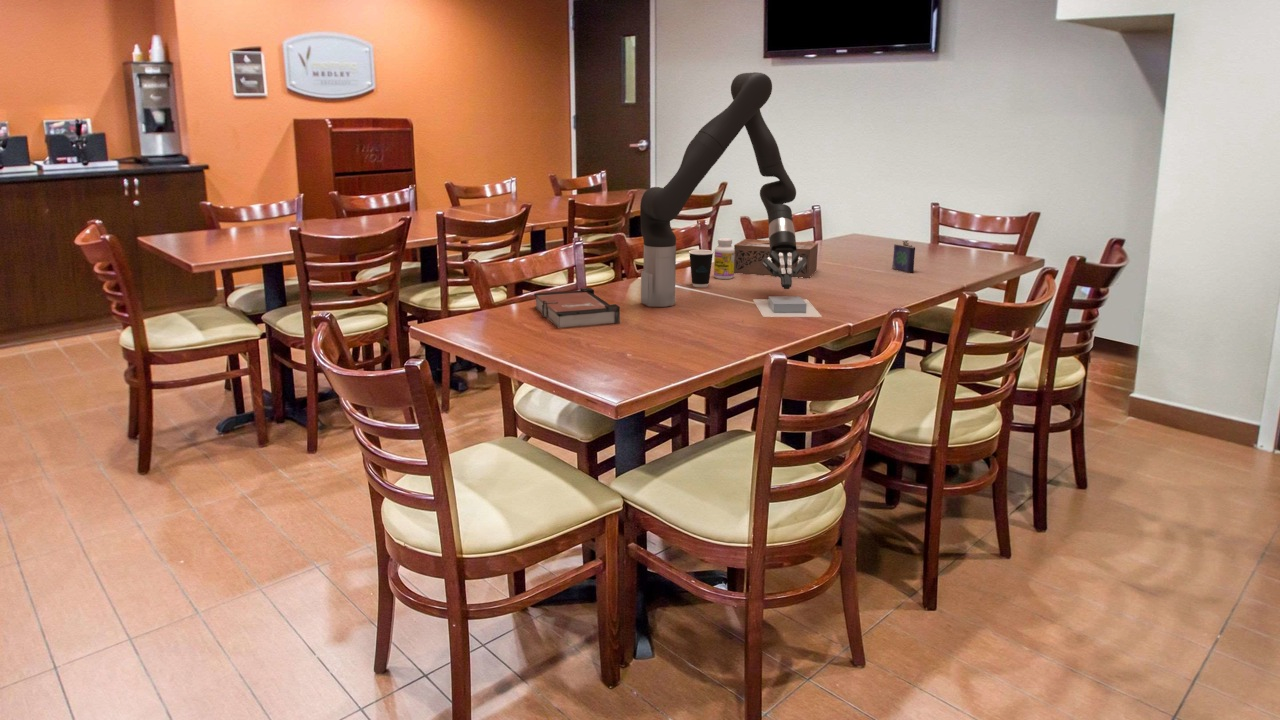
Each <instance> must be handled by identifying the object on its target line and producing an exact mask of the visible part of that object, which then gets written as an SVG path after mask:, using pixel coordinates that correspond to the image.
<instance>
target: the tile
mask: <svg viewBox="0 0 1280 720" xmlns="http://www.w3.org/2000/svg"><path fill="white" fill-rule="evenodd" d="M768 299H769V300H768V305H769V307H770V308H771V310H772V311H773V313H806V307H807V304H806V303H805V301H804V300H803V298H802V296H800V295H799V296H798V295H797V296H795V295H791V296H789V295H783V296H782V295H781V296H780V295H778V296H777V295H775V296H774V295H773V296H770V295H768Z"/></svg>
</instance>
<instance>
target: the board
mask: <svg viewBox="0 0 1280 720" xmlns="http://www.w3.org/2000/svg"><path fill="white" fill-rule="evenodd" d="M802 299H803V298H802ZM752 300H753V302H754V304H755V305H756V307H757V309H758V310H759V312H760V314H761V316H762V317H763V318H823V316H822V314H821V313H820V312H819V311H818V310H817V309H816V308H815V306H814V305H813V304H812V303H811V302H810V301H809V299H806V298H805V299H803V300H804V301H805V303H806V304H807V307H806V313H773V311H772V310H771V308H770V307H769V305H768V300H769V298H768V299H767V298H765V299H764V298H761V299H759V298H758V299H757V298H756V299H755V298H754V299H752Z"/></svg>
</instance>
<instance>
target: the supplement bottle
mask: <svg viewBox="0 0 1280 720" xmlns="http://www.w3.org/2000/svg"><path fill="white" fill-rule="evenodd" d="M717 244H718V246H716V247H715V248H714V259H713V260H714V261H713V277H714V278H715V279H718V280H730V279H732V278H734V275H735V273H734V257H735V249H734V246H732V244H733V239H732V238H729V237H726V238H725V237H723V238H721V237H720V238H718V239H717Z"/></svg>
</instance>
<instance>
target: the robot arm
mask: <svg viewBox="0 0 1280 720" xmlns="http://www.w3.org/2000/svg"><path fill="white" fill-rule="evenodd" d="M772 92H773V82H772V80H771V78H770V77H769V76H768V75H767V74H765V73H762V72H743V73H739V74H737V75H736V76H735V77H734V78H733V79H732V82H731V85H730V94H731V97H732V102H731V103H729V105H728V106H727V107H726V108H725V109H724V110H722V112H720V113H719V114H717V115H716V116H715V117H712V119H710V120H709V121H708V122H707V123H706V124H705V125H703V126H702V127H701V128H700V129H699V130H698V131H697V133H696V134H695V135H694V137H693V138H692V139H691V141H690V142H689V144H688V145H687V146H686V148H685V151H684V154H683V157H682V160H681V163H680V166H679V168H678V170H677V171H676V173H675V174H674V175H673V177H672V178H671V179H670V180H669V181H668V182H667V183H666V184H665V186H664V187H661V186H660V187H659V186H652V187H649V188H648V189H645V191H644V192H643V194H642V196H641V200H640V208H639V210H640V213H639V214H640V231H641V232H640V233H641V236H642V239H643V270H641V271H640V303H641V304H643V305H645V306H646V307H648V308H649V307H650V308H653V307H654V308H655V307H656V308H662V307H663V308H666V307H672V306H674V305H676V271H677V269H676V267H677V265H676V264H677V263H676V261H677V260H676V259H677V258H676V255H677V236H676V233H674V231H673V230H672V226H671V221H673V220H675V218H677V216H679V214H680V213H681V212H682V210H683V208H684V207H685V205H686V203H688V201H689V200H690V197H691V196H692V194H693V193H694V191H695V190H696V188H697V187H698V185H699V184H700V183H701V182H702V181H703V179H704V178H705V177H706V176H707V174H708V173H709V172H710V170H711V169H712V168H713V167H714V166H715V164H716V163H717V162H718V160H720V158H721V157H722V156H723V154H724V153H725V152H726V151H727V149H728V147H729V146H730V144H731V143H732V142H733V141H734V140H735V139H736V137H737V136H738V134H740V132H741V131H742V130H743V128H745V129H746V132H747V134H748V135H747V136H748V138H749V140H750V142H751V146H752V148H753V152H754V156H755V160H756V163H757V167H758V170H759V173H760V175H761V176H762V177H765V178H766V177H767V178H769V177H771V178H772V177H773V178H777V179H778V180H776V181H775V180H774V181H772V182H768V183H765V184H763V185H762V186H761V188H760V190H759V196H760V200H761V202H762V204H763V206H764V208H765V210H766V213H767V221H768V240H769V243H770V255H769V257H768V258H764V260H763V266H764V267H765V268H766V269H767V270H768V271H769V272H770V273H771V274H772V275H773V276H772V277H775V278H777V277H778V278H780V285H781V286H780V287H782V288H783V289H784V290H789V289H790V288H792V285H793V280H792V279H793V278H792V277H796V276H797V275H798V273H799V272H800V271H801V270H802V269H803V267H804V266H805V264H806V261H807V259H806V258H801V257H799V253H798V252H797V248H796V242H797V240H796V231H795V226H794V221H793V211H792V209H791V207H790V206H789V205H787V204H789V203H792V202H793V201H794V200H795V199H796V195H797V189H796V187H795V184H794V182H793V180H792V179H791V178H790V176H789V174H788V172H787V171H786V168H785V166H784V164H783V160H782V156H781V153H780V149H779V146H778V143H777V141H776V138H775V137H774V135H773V133H772V132H771V130H770V129H769V127H768V125H767V123H766V121H765V120H764V118H763V114H762V112H761V109H762V108H763V106H765V104H766V103H767V102H768V101H769V99H770V97H771V95H772ZM796 261H798V263H797V264H798V265H797V266H796V267H795V269H794V270H792V266H793V265H794V264H795V263H796ZM772 262H773V263H774V264H775V265H776V266H777V267H778V268H777V267H776V266H775V265H774V264H773V263H772ZM785 268H786V271H785ZM785 273H786V274H785Z"/></svg>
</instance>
